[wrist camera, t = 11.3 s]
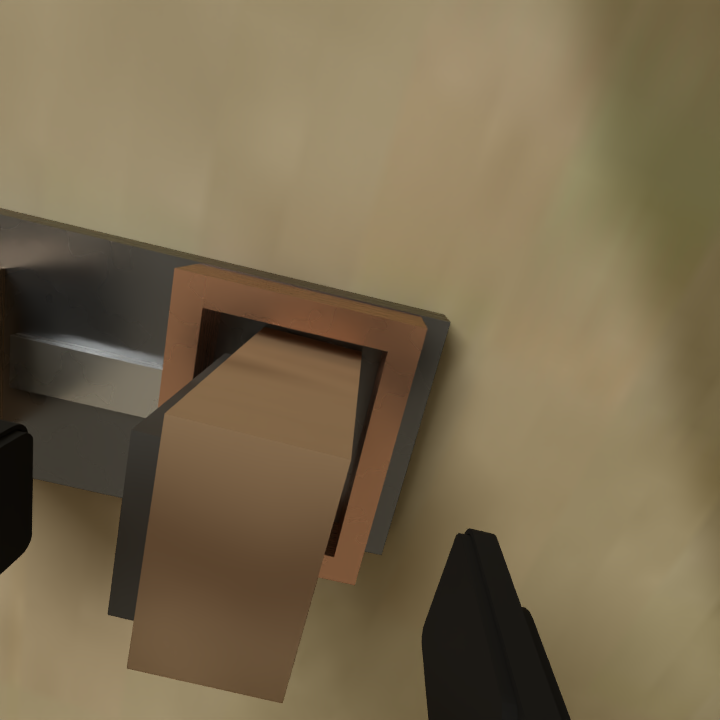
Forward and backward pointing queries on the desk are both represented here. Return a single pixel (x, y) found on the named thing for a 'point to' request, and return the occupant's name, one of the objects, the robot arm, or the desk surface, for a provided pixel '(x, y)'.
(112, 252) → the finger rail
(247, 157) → the desk surface
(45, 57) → the desk surface
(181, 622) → the small cardboard box
